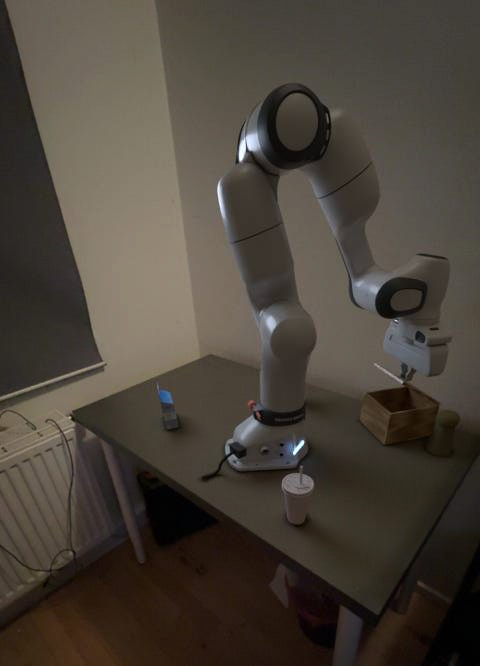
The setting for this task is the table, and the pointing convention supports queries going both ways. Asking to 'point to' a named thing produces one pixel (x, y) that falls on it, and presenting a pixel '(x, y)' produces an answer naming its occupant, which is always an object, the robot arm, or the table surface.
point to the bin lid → (406, 384)
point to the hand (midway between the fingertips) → (405, 378)
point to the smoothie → (297, 495)
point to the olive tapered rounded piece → (443, 433)
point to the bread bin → (398, 414)
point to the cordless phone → (168, 409)
